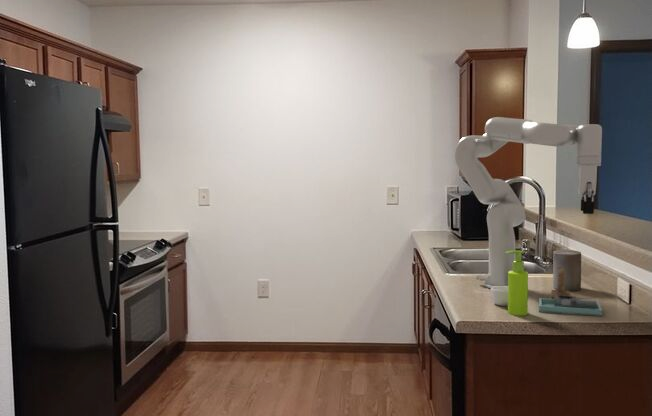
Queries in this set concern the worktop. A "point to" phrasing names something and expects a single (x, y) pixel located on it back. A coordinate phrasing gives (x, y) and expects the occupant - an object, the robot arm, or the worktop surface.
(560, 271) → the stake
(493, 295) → the teacup
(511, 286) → the soap dispenser
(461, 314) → the worktop surface
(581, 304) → the wrench
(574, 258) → the pillar candle
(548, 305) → the tray
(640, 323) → the worktop surface
